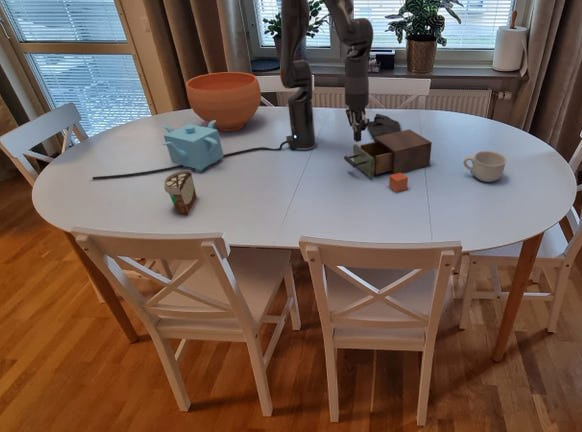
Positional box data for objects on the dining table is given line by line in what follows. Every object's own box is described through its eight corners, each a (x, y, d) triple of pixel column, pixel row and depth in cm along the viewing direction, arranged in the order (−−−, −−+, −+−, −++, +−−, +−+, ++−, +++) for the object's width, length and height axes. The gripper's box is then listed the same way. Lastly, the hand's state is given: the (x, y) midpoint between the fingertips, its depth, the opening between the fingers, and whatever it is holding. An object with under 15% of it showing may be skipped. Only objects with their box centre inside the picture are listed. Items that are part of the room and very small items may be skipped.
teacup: (502, 173, 141) (507, 153, 136) (501, 187, 132) (505, 166, 128) (463, 167, 145) (466, 147, 140) (459, 181, 136) (462, 160, 132)
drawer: (357, 181, 134) (356, 162, 130) (340, 166, 143) (339, 147, 139) (405, 168, 142) (406, 150, 138) (387, 155, 151) (387, 137, 147)
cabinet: (393, 175, 140) (394, 151, 135) (373, 159, 150) (374, 137, 145) (429, 165, 146) (431, 142, 141) (408, 151, 156) (409, 129, 151)
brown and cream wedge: (179, 197, 127) (170, 169, 122) (198, 196, 128) (190, 168, 122) (166, 218, 117) (156, 189, 112) (187, 217, 118) (178, 188, 112)
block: (396, 192, 130) (396, 180, 127) (389, 186, 133) (389, 175, 130) (407, 189, 132) (407, 177, 129) (400, 183, 135) (400, 172, 132)
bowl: (270, 114, 191) (264, 71, 180) (257, 139, 167) (249, 90, 155) (208, 115, 191) (198, 71, 179) (186, 139, 166) (173, 91, 155)
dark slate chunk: (367, 141, 164) (367, 131, 161) (366, 122, 182) (366, 113, 180) (403, 141, 164) (404, 130, 162) (398, 122, 183) (399, 112, 180)
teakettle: (226, 170, 143) (217, 132, 135) (170, 179, 137) (158, 140, 129) (223, 150, 158) (215, 114, 149) (172, 157, 152) (161, 120, 144)
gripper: (337, 85, 126) (339, 136, 136) (355, 96, 117) (356, 150, 126) (357, 82, 129) (358, 132, 139) (377, 93, 120) (376, 145, 129)
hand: (357, 140), depth 133 cm, fingers closed
